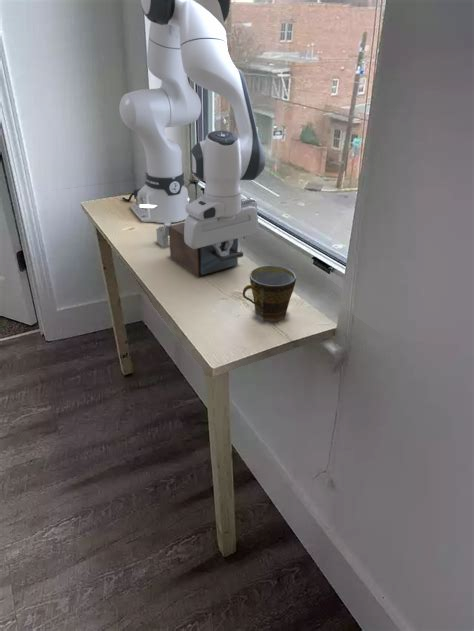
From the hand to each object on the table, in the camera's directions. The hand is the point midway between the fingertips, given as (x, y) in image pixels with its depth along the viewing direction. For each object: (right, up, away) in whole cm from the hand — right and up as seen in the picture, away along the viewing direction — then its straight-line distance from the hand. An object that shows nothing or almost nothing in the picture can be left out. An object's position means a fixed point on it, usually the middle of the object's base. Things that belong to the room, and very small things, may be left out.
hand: (222, 256), depth 129 cm
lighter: (-17, +5, +18) cm, 25 cm away
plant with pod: (-8, +9, +26) cm, 28 cm away
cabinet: (-6, 0, +9) cm, 11 cm away
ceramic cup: (+10, -16, -16) cm, 25 cm away
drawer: (-3, -1, +5) cm, 6 cm away
